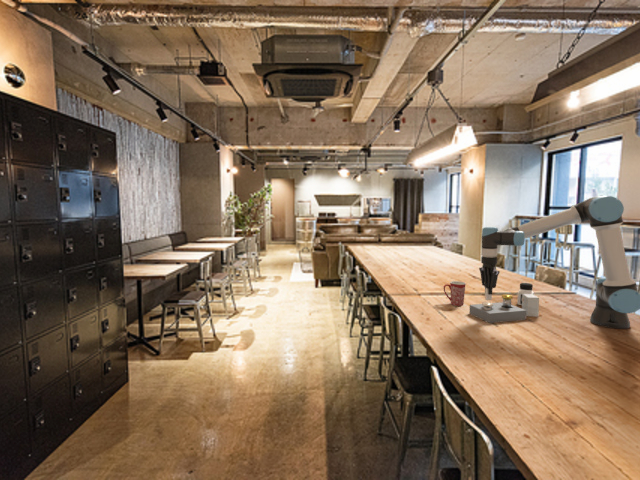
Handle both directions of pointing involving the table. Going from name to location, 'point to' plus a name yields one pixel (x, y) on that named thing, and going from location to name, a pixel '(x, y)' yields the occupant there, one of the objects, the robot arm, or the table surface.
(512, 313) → the block
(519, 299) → the container
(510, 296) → the gold lidded glass jar
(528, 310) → the small box
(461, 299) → the mug
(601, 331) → the table surface
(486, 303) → the plug cream
